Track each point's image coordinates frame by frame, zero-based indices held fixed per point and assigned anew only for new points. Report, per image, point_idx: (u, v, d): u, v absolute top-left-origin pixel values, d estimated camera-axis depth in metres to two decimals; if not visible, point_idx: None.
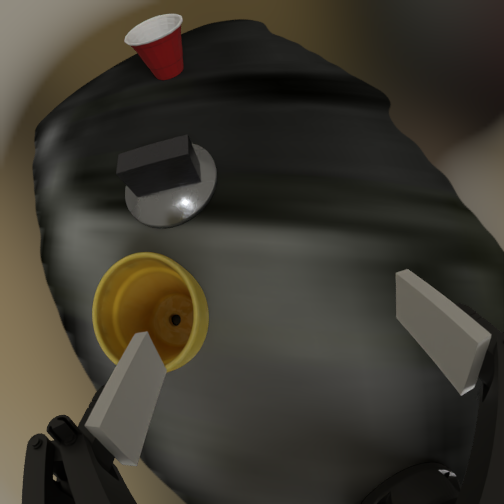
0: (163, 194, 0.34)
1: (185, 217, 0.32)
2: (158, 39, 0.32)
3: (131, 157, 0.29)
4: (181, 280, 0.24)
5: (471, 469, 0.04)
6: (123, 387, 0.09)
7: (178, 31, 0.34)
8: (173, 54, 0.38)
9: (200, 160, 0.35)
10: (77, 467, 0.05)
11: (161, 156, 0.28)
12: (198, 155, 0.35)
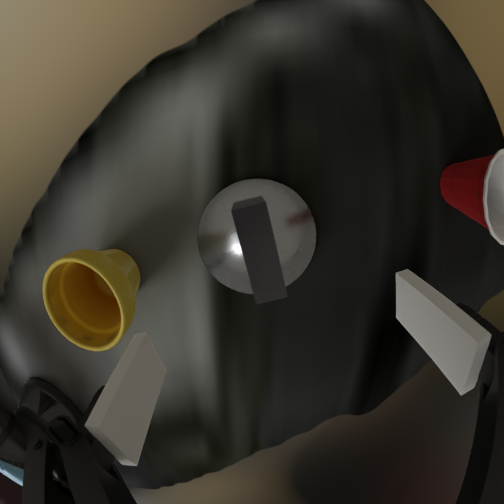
0: (237, 238, 0.30)
1: (209, 270, 0.31)
2: (484, 215, 0.20)
3: (258, 227, 0.24)
4: None
5: (471, 469, 0.04)
6: (123, 387, 0.09)
7: None
8: (466, 212, 0.25)
9: (284, 273, 0.31)
10: (77, 467, 0.05)
11: (254, 272, 0.25)
12: (291, 269, 0.31)
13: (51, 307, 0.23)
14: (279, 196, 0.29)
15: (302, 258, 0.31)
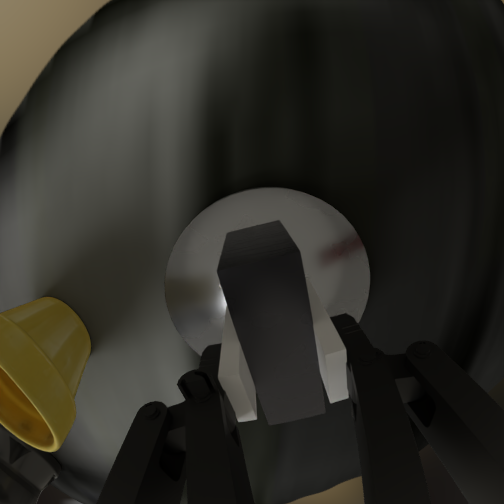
0: None
1: (189, 343, 0.18)
2: None
3: (279, 307, 0.10)
4: None
5: (365, 490, 0.05)
6: None
7: None
8: None
9: None
10: (202, 429, 0.07)
11: (267, 384, 0.11)
12: None
13: None
14: (312, 221, 0.15)
15: None
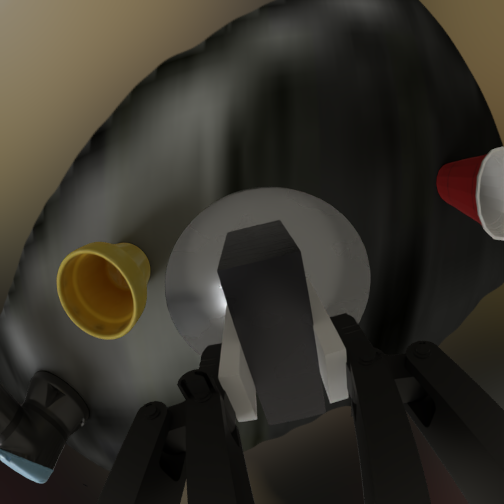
0: None
1: (189, 343, 0.18)
2: (477, 211, 0.21)
3: (279, 307, 0.10)
4: None
5: (365, 490, 0.05)
6: None
7: (488, 230, 0.23)
8: (461, 209, 0.27)
9: None
10: (202, 429, 0.07)
11: (267, 384, 0.11)
12: None
13: (64, 297, 0.25)
14: (313, 221, 0.15)
15: None
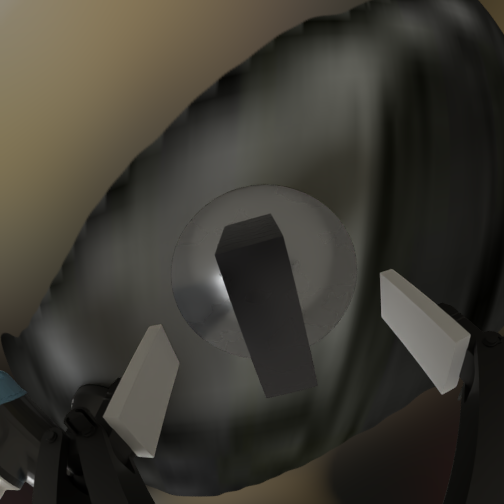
0: None
1: (194, 329, 0.20)
2: None
3: (268, 284, 0.12)
4: None
5: (456, 470, 0.04)
6: (140, 378, 0.10)
7: None
8: None
9: (306, 329, 0.20)
10: (93, 460, 0.05)
11: (262, 357, 0.13)
12: (318, 324, 0.20)
13: None
14: (300, 213, 0.17)
15: (335, 308, 0.19)
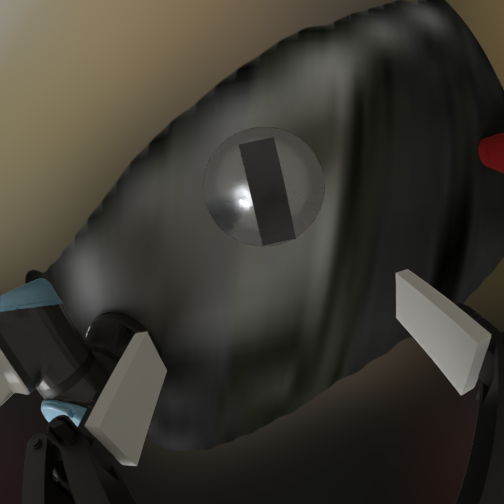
0: (243, 185, 0.29)
1: (214, 219, 0.30)
2: None
3: (265, 161, 0.22)
4: None
5: (471, 469, 0.04)
6: (123, 387, 0.09)
7: None
8: (497, 166, 0.32)
9: None
10: (77, 467, 0.05)
11: (261, 209, 0.23)
12: (299, 220, 0.30)
13: None
14: (287, 144, 0.27)
15: (310, 209, 0.29)
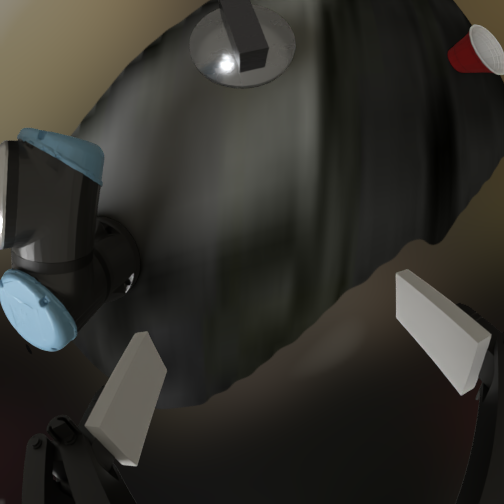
0: (224, 41, 0.26)
1: (198, 67, 0.27)
2: (475, 51, 0.24)
3: (238, 1, 0.19)
4: None
5: (471, 469, 0.04)
6: (123, 387, 0.09)
7: (487, 69, 0.26)
8: (467, 64, 0.29)
9: (269, 67, 0.27)
10: (77, 467, 0.05)
11: (236, 28, 0.21)
12: (276, 64, 0.27)
13: None
14: (259, 13, 0.25)
15: (285, 55, 0.27)
